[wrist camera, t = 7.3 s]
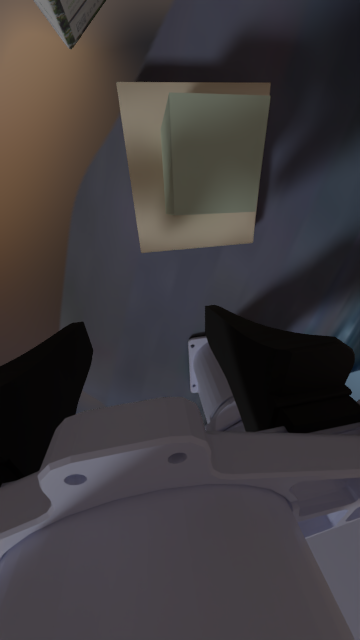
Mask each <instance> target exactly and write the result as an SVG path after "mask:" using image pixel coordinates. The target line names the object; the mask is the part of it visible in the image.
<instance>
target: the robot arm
mask: <svg viewBox="0 0 360 640" xmlns="http://www.w3.org/2000/svg"><path fill="white" fill-rule="evenodd" d="M205 335H206V336H202V337H195V338H190V339H189V340H188V350H189V370H190V389H191V392H192V393H196V392H198V393H199V396H200V400H201V403H202V406H203V410H204V413H205V416H206V419H207V423H208V424H207V425H206V426H205V427H206V430H205V427H204V423H203V420H202V416H201V413H200V411H199V409H198V407H197V404H196V403H193V402H191V401H189V400H187V399H185V398H183V397H162V398H156V399H151V400H145V401H139V402H133V403H128V404H122V405H116V406H111V407H105V408H99V409H93V410H88V411H84V412H81V413H78V414H76V409H77V404H78V401H79V398H80V395H81V392H82V389H83V386H84V383H85V380H86V378H87V375H88V372H89V369H90V365H91V361H92V355H93V348H92V345H91V342H90V339H89V336H88V334H87V331H86V328H85V325H84V322H77V323H71V324H69V325H68V326H66V327H65V328H63V329H61V330H60V331H59V332H57V333H56V334H54V335H53V336H51V337H50V338H48V339H47V340H45V341H44V342H42V343H41V344H39V345H38V346H36V347H34V348H33V349H31V350H30V351H28V352H26V353H25V354H23V355H21V356H20V357H17V358H16V359H14V360H12V361H10V362H8V363H6V364H4V365H2V366H0V640H360V400H358V401H357V402H356V401H355V400H354V399H353V398H351V397H350V396H349V395H351V393H352V391H351V390H350V389H349V388H348V387H347V386H346V385H345V382H346V380H347V378H348V376H349V374H350V372H351V370H352V368H353V365H354V361H355V354H354V352H353V350H352V349H351V348H350V347H349V346H347V345H346V344H345V343H343V342H342V341H340V340H339V339H337V338H336V337H331V336H319V335H308V334H301V333H294V332H289V331H284V330H279V329H275V328H271V327H267V326H264V325H261V324H258V323H255V322H252V321H250V320H247V319H245V318H242V317H240V316H238V315H236V314H234V313H232V312H229V311H227V310H225V309H223V308H221V307H219V306H217V305H210V306H205ZM192 344H194V345H193V346H191V345H192ZM194 384H195V385H194ZM75 414H76V415H75Z"/></svg>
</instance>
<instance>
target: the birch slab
mask: <svg viewBox="0 0 360 640" xmlns="http://www.w3.org/2000/svg"><path fill="white" fill-rule="evenodd" d="M116 83H117V91H118V97H119V104H120V111H121V118H122V125H123V132H124V138H125V145H126V152H127V159H128V166H129V172H130V179H131V186H132V193H133V200H134V206H135V213H136V220H137V227H138V234H139V240H140V247H141V253H145V252H156V251H168V250H179V249H190V248H201V247H212V246H223V245H234V244H245V243H253V235H254V226H255V218H256V212H240V213H218V214H196V215H169V214H166V210H165V194H164V178H163V162H162V146H161V125H162V121H163V117H164V113H165V108H166V104H167V100H168V95H169V92H172V93H203V94H235V95H267V96H269V94H270V85H271V83H227V82H116ZM258 191H259V190H258ZM257 200H258V198H257ZM256 209H257V205H256Z"/></svg>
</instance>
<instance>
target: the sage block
mask: <svg viewBox="0 0 360 640" xmlns="http://www.w3.org/2000/svg"><path fill="white" fill-rule="evenodd" d="M270 98H271V96H267V95H235V94H203V93H172V92H169V95H168V100H167V104H166V108H165V113H164V117H163V121H162V125H161V146H162V162H163V178H164V194H165V210H166V214H169V215H196V214H218V213H240V212H256V205H257V198H258V190H259V182H260V175H261V167H262V159H263V152H264V144H265V136H266V128H267V121H268V113H269V105H270Z"/></svg>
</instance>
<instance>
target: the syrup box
mask: <svg viewBox="0 0 360 640" xmlns="http://www.w3.org/2000/svg"><path fill="white" fill-rule="evenodd" d="M105 1H106V0H34V2H35V3H36V5H37V6H38V7H39V9H40V10H41V11H42V13H43V14H44V15H45V17H46V18H47V20H48V21H49V22H50V24H51V25H52V27H53V28H54V29H55V31H56V32H57V34H58V35H59V36H60V37H61V39H62V40H63V42H64V43H65V44H66V45H67V47H68V48H69V49H72V48H73V47H74V45H75V44H76V43H77V41H78V40H79V39H80V37H81V36H82V34H83V32H84V31H85V30H86V28H87V27H88V25H89V24H90V23H91V21H92V20H93V18H94V17H95V15H96V14H97V13H98V11H99V10H100V8H101V7H102V5H103V4H104V3H105Z"/></svg>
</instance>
